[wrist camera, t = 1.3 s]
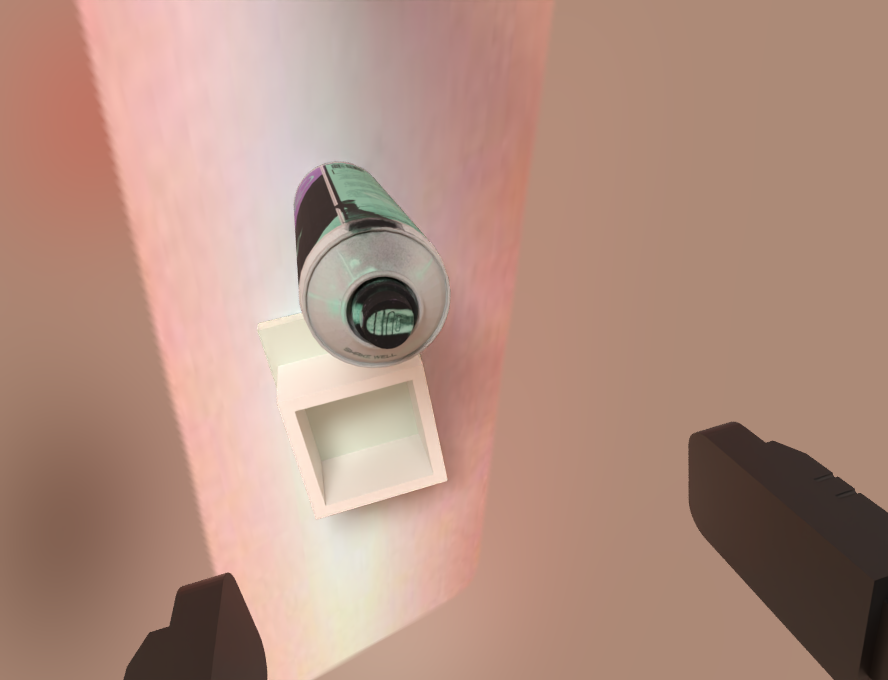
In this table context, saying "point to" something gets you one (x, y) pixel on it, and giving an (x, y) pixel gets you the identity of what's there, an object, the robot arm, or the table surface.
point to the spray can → (365, 270)
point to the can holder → (351, 421)
